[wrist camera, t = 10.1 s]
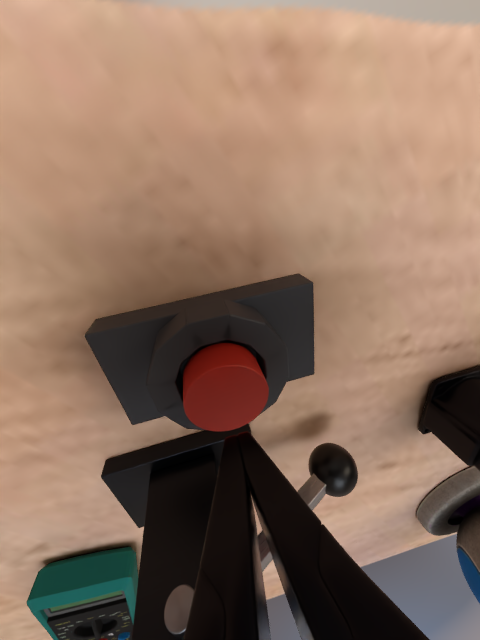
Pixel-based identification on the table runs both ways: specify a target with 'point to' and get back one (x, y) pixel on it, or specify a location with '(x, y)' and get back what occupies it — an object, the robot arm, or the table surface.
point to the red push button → (223, 387)
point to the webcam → (457, 519)
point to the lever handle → (321, 483)
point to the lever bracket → (168, 523)
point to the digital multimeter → (87, 596)
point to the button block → (205, 343)
